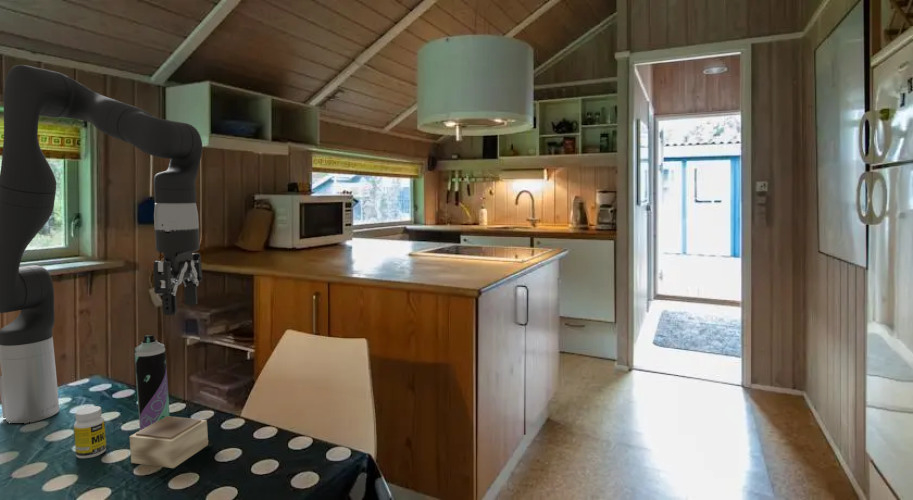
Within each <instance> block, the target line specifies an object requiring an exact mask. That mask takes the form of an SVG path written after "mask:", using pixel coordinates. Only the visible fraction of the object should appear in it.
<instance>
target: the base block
mask: <svg viewBox="0 0 913 500" xmlns="http://www.w3.org/2000/svg"><path fill="white" fill-rule="evenodd" d="M208 435H209V434H208V420H207V419H199V418H191V417H189V418H188V417H180V416H171V415H170V416H166V417H165V418H163V419H161V420H159V421H157V422H155V423H153V424H152V425H150V426H148V427H146V428H144V429H142V430H140V429H139V431H136V432H135V433H133V434H131V435H130V436H128V437H129V450H130V462H131V464H138V465H139V464H140V465H146V466H155V467H162V468H169V469H175V468H176V467H178V466H179V465H181V464H182V463H184V462H185V461H186V460H188V459H189V458H191V457H192V456H194V455H195V454H197V453H198V452H200V451H201V450H203V449H204V448H206V447H208V446H209V437H208Z"/></svg>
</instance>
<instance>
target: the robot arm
mask: <svg viewBox="0 0 913 500" xmlns="http://www.w3.org/2000/svg"><path fill="white" fill-rule="evenodd" d="M5 77H6V78H5V80H4V87H3V140H2V141H3V143H2V144H3V145H2V155H1V156H2V157H1V163H0V165H1V166H0V314H7V313H11V312H17V311H19V314H18V316H17V317H16V318H15V319H14V320H13V321H11V322H10V323H8V324H7V325H4V326H3V327H2V328H1V329H0V372H1V376H0V400H1V411H2V419H3V418H6V419H5V420H6V421H7V422H10V423H24V424H30V423H35V422H39V421H43V420H45V419H48V418H50V417H53V416H54V415H56V414H57V413H59V412H60V404H59V389H58V380H57V369H56V368H57V367H56V357H55V347H54V339H53V336H54V335H53V330H54V326H55V288H54V283H53V278H52V276H51V274H50V272H49V271H48V270H47V269H46V268H45V267H43V266H41V265H36V264H35V265H34V264H33V265H23V266H21V261H22V258H23V256H24V253H25V251H26V248H27V247H28V246H29V244H30V243H31V242H32V241H33V239H34V238H35V237H36V236H37V235H38V233H39V232H40V231H41V230H42V229H43V228H44V227H45V225H46V224H47V223H48V221H49V220H50V219H51V217H52V214H53V211H54V207H55V202H56V201H55V200H56V192H57V179H56V176H55V173H54V171H53V169H52V167H51V165H50V163H49V161H48V160H47V158H46V156H45V154H44V153H43V151H42V149H41V146H40V143H39V136H38V135H39V133H38V132H39V119H40V117H47V118H65V119H67V118H68V119H71V120H73V119H74V120H78V121H83V122H87V123H90V124H91V125H93V126H94V127H95V128H96V129H97V130H99V131H100V132H101V133H103V134H105V135H106V136H107V135H108V136H109V137H111V138H114V139H117V140H120V141H122V142H124V143H128V144H131V145H132V146H133V147H135V148H137V149H139V150H140V151H142V152H143V153H145V154H148V155H149V156H153V157H156V158H162V159H169V164H168V167H167V169H166V170H165V171H159V172H158V173H156V174H155V175H154V178H153V193H154V194H153V195H154V211H153V212H154V213H153V221H154V239H155V250H156V252H157V253H160V254H161V253H162V254H163V260H155V261H153V286H154V287H153V288H154V294H157V295H160V296H162V309H163V311H162V312H163V315H165V316H174V315H177V313H178V302H177V301H178V300H177V299H178V298H177V291H178V286H180V285H182V283H183V286H184V288H183V290H184V291H183V292H184V304H185V305H186V306H195V305H197V304H198V286H199V282H203V272H202V271H203V269H202V255H201V253H200V252H197V251H199V250H200V249H201V246H200V245H201V243H200V226H199V225H200V223H199V222H200V221H199V212H198V207H197V196H196V195H197V191H196V180H197V175H198V173H199V168H200V164H201V160H202V155H203V154H202V153H203V141H202V137H201V134H200V132H199V131H198V130H197V128H196V127H195V126H193V125H192V124H190V123H187V122H181V121H174V120H168V119H164V118H160V117H157V116H154V115H153V114H151V113H150V112H149V111H147V110H144V109H142V108H140V107H137V106H134V105H131V104H128V103H126V102H123V101H119V100H116V99H114V98H110V97H107V96H105V95H102V94H100V93H98V92H96V91H93V89H92V90H91V89H90V88H88V87H86V86H85V85H83V84H82V83H80V82H78V81H77V80H75V79H73V78H72V77H70V76H68V75H66V74H64V73H61V72H60V71H59V72H58V71H54V70H51V69H50V70H49V69H45V68H40V67H35V66H31V65H25V64H17V65H15V66H13V67H12V68H10V70H9V71H8V72H7V76H5ZM6 421H5V422H6ZM7 422H6V423H7ZM29 422H30V423H29ZM10 423H9V424H10Z"/></svg>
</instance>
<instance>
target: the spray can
mask: <svg viewBox="0 0 913 500" xmlns="http://www.w3.org/2000/svg"><path fill="white" fill-rule="evenodd" d="M154 336H155V335H154V334H152V335H144V336H143V340H142V341H141V343H140V344H139V345H138V346H136V347H134V352H133V356H134V366H135V368H134V369H135V381H136V393H137V394H136V397H137V409H138V419H139V420H138V421H139V431H140V430H142V429H144V428H146V427H148V426H150V425H152V424H153V423H155V422H157V421H159V420H161V419H163V418H165V417H166V416H171V414H170V400H169V386H168V373H167V372H168V371H167V357H166V356H167V355H166V347H165V344H164V343H160V342H158V340H157V339H156V338H155V337H154Z"/></svg>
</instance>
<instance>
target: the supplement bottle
mask: <svg viewBox="0 0 913 500" xmlns="http://www.w3.org/2000/svg"><path fill="white" fill-rule="evenodd" d="M102 415H103V412H102V407H101V406H99V405H98V406H97V405H93V406H87V407H83V408H80V409H78V410H76V411H75V415H74V416H75V422H74V424H73V431H74V433H73V434H74V444H75V445H74V446H75V456H76V457H77V458H78V459H91V458H94V457H95V458H96V457H97V456H98V457H99V456H100V455H101V454H103V453H104V452H106V450H107V440H106V439H107V437H106V425H105V424H106V423H105V422H106V421H105V418H104V416H102Z"/></svg>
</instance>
